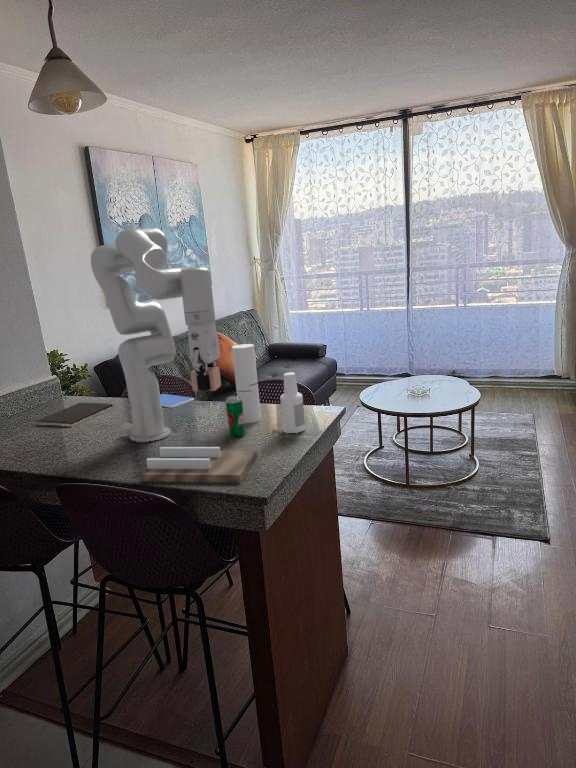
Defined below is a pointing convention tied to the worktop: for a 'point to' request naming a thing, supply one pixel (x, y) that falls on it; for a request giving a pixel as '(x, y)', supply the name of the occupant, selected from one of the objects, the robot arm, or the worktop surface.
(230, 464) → the board
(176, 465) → the channel
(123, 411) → the worktop surface
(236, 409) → the soda can
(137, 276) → the robot arm
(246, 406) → the cylindrical container
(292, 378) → the white bottle
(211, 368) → the block
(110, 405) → the hardcover book
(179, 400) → the tablet computer
